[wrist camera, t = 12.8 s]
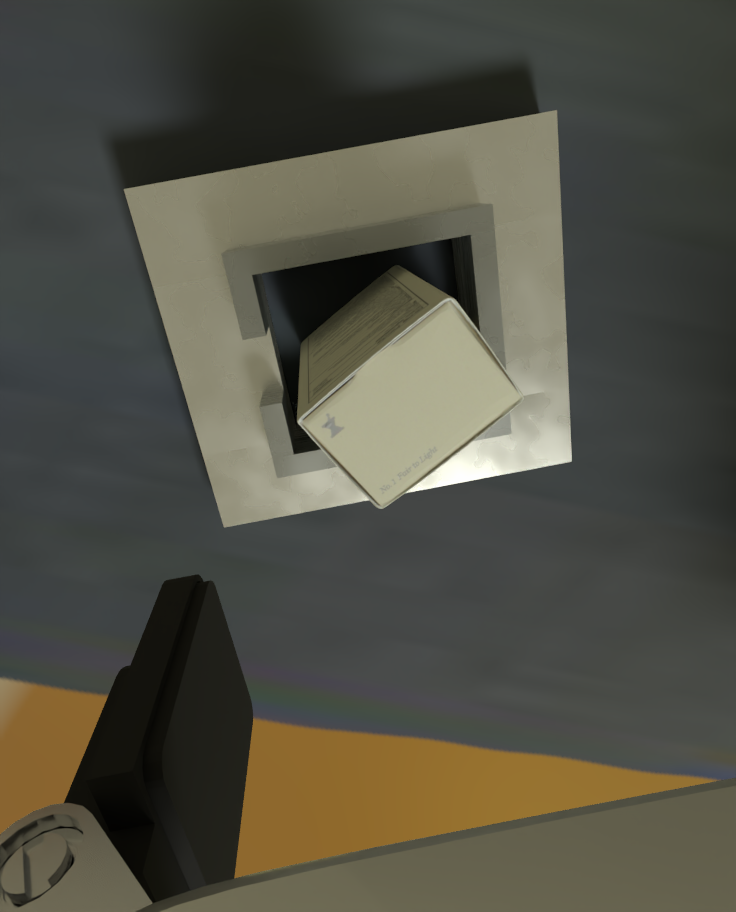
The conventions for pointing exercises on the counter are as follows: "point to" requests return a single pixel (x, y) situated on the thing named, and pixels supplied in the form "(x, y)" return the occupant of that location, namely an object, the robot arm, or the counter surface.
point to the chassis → (345, 235)
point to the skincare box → (399, 385)
